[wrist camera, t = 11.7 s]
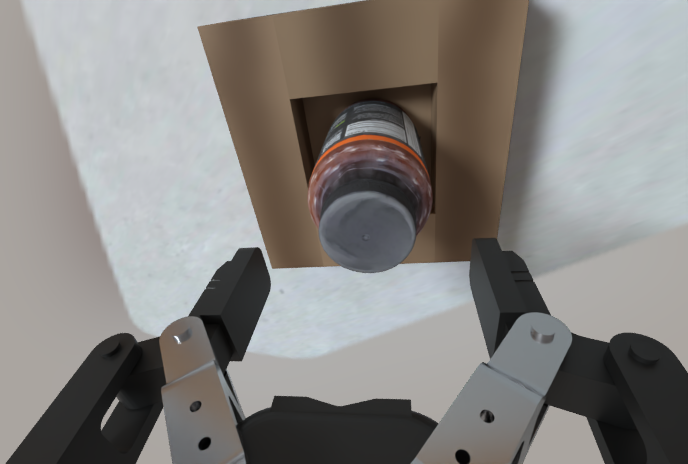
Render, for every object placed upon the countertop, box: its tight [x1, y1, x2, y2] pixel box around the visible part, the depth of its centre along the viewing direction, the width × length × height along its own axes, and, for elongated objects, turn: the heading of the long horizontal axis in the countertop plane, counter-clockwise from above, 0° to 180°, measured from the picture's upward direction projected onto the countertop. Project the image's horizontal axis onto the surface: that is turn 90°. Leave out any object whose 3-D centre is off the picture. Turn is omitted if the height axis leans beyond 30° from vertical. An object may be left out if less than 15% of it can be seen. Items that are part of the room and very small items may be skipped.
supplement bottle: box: [307, 99, 433, 273], centre depth 19 cm, size 6×6×11 cm
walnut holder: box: [198, 0, 529, 269], centre depth 23 cm, size 16×16×4 cm
